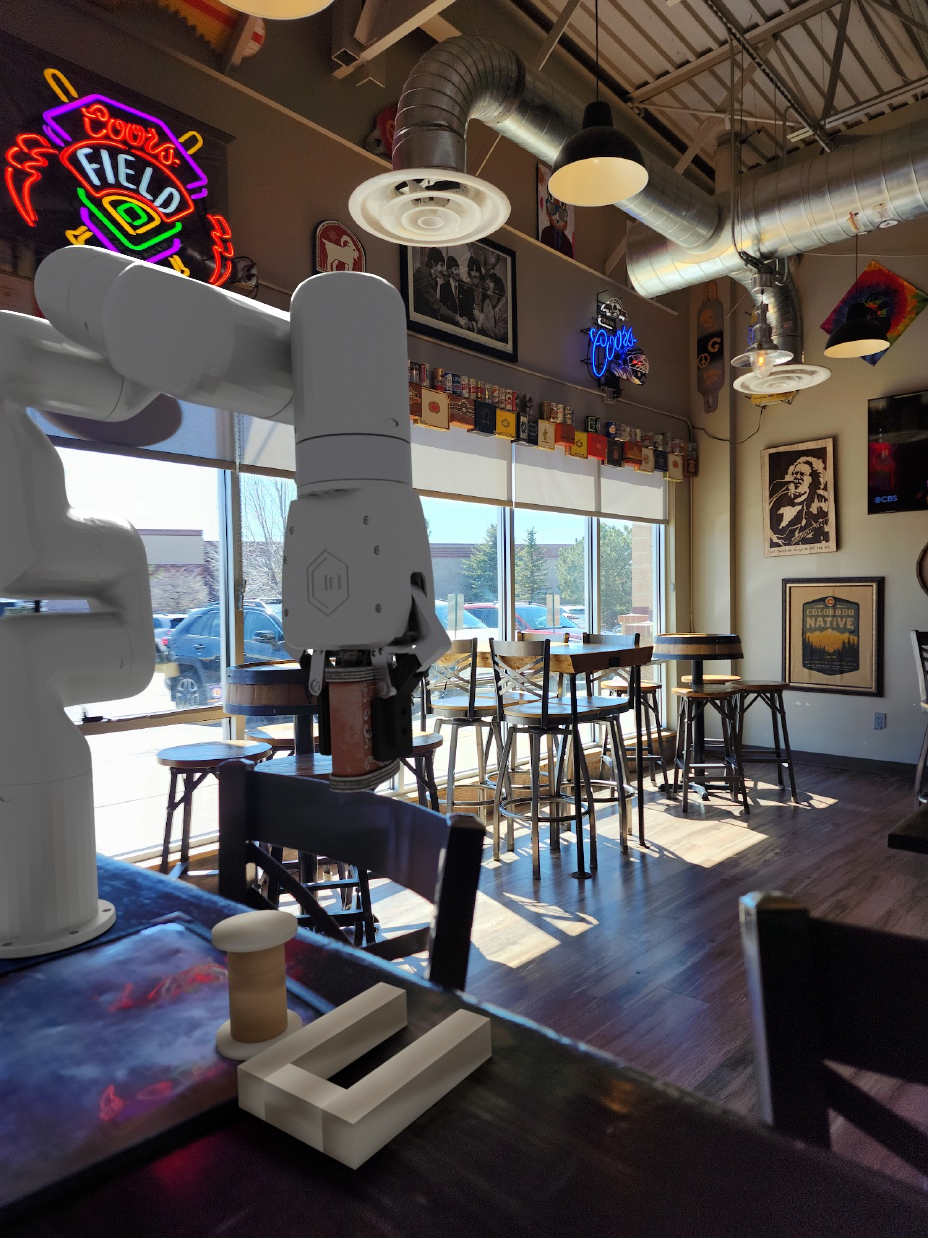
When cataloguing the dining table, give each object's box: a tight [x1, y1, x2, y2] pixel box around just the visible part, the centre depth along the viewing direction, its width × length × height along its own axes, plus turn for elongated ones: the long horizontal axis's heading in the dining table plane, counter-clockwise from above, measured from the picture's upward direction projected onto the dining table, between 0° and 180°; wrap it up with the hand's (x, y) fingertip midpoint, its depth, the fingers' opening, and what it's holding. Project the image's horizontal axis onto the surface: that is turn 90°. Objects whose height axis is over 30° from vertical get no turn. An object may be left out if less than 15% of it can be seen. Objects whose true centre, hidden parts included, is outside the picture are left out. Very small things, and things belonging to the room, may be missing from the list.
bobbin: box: [210, 909, 303, 1061], centre depth 57 cm, size 6×6×8 cm
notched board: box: [236, 981, 493, 1171], centre depth 51 cm, size 10×13×2 cm
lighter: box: [325, 647, 401, 793], centre depth 51 cm, size 8×3×10 cm, turn 167°
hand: (365, 752), depth 51 cm, fingers closed on lighter, 4 cm apart
